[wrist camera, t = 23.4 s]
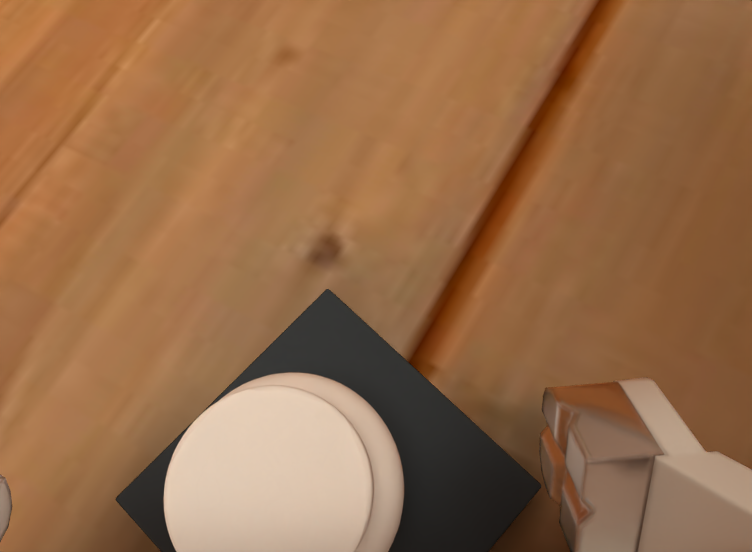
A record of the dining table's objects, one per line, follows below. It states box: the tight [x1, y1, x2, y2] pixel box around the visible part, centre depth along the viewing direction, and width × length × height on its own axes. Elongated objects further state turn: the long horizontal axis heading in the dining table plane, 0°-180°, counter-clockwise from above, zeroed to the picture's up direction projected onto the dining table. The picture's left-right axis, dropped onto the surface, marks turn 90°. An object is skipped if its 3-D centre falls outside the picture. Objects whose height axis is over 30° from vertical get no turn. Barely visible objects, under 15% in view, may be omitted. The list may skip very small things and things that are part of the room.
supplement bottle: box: [164, 372, 404, 552], centre depth 17 cm, size 5×5×10 cm
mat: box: [116, 289, 541, 552], centre depth 22 cm, size 10×10×1 cm
